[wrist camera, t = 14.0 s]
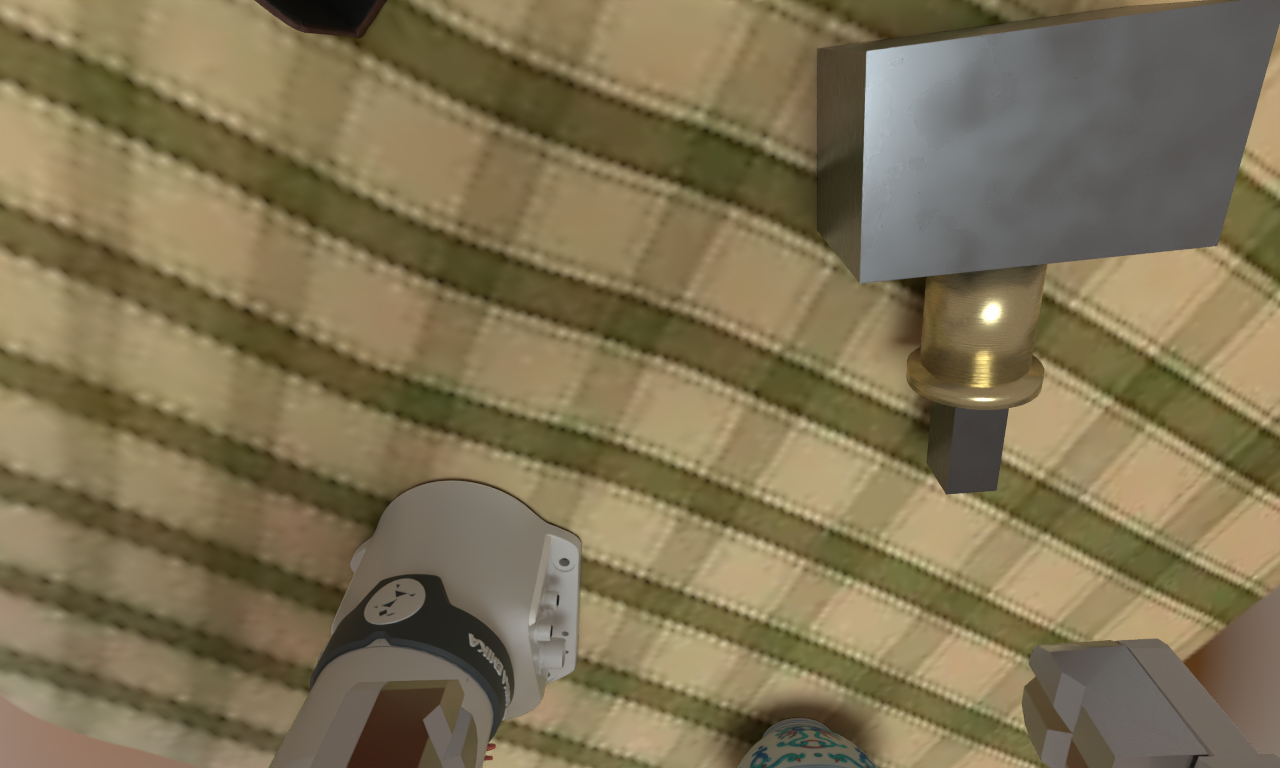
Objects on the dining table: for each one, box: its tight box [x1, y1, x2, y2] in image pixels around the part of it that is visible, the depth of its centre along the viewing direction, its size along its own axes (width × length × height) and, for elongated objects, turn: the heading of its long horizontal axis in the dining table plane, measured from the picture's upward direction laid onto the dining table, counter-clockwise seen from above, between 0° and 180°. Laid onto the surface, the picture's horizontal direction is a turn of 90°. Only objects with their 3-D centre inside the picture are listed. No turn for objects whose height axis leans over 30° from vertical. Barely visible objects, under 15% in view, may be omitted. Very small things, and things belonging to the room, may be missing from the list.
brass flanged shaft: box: [906, 264, 1047, 494], centre depth 39 cm, size 15×7×7 cm, turn 7°
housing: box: [817, 0, 1280, 283], centre depth 33 cm, size 10×16×10 cm, turn 97°
